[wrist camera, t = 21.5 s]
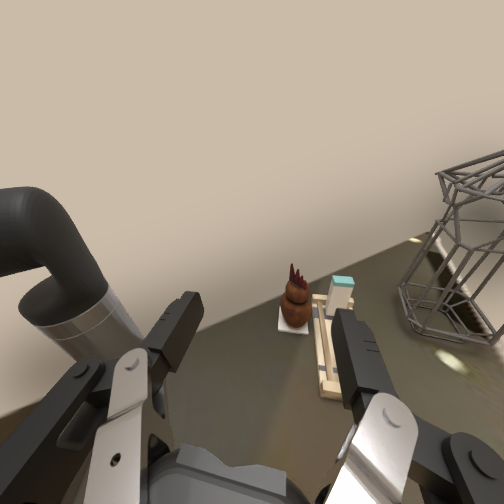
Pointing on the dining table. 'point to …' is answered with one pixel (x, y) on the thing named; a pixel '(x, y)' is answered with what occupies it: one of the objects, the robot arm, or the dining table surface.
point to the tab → (338, 294)
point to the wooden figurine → (296, 301)
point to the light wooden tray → (325, 349)
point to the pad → (286, 328)
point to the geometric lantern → (479, 194)
